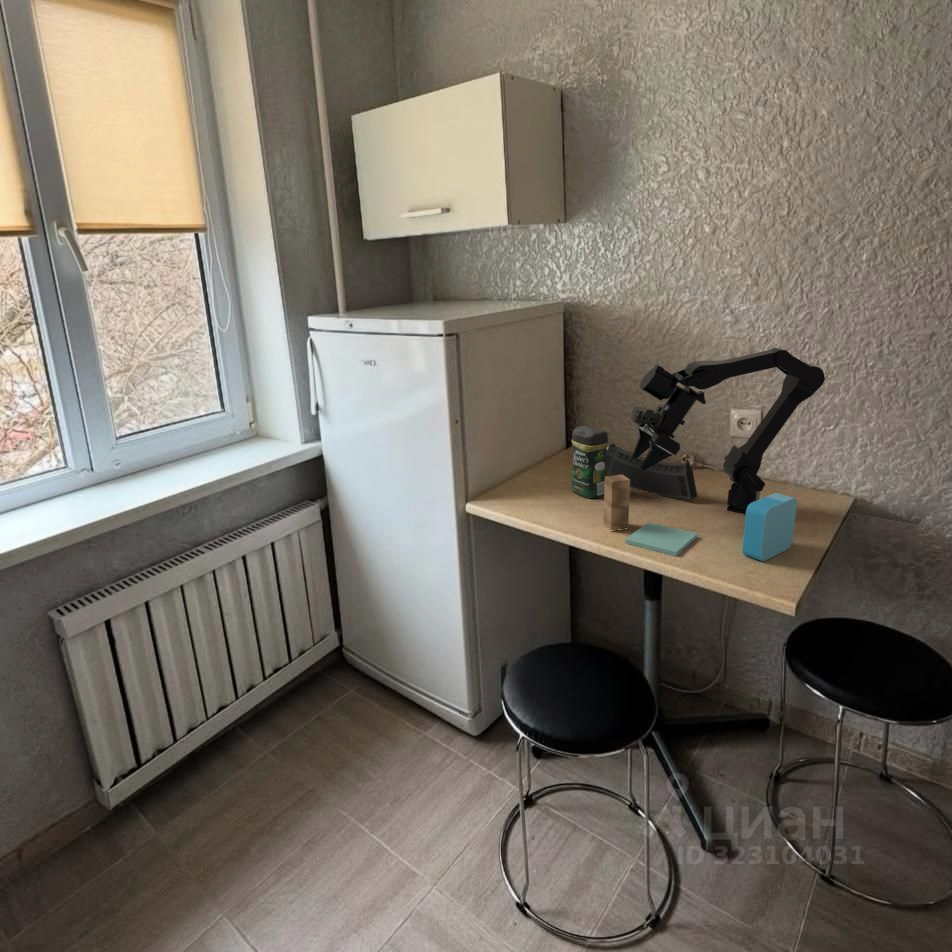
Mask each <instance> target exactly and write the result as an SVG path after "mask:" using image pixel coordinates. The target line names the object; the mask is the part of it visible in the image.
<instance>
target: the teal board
mask: <svg viewBox="0 0 952 952" xmlns="http://www.w3.org/2000/svg"><path fill="white" fill-rule="evenodd" d="M697 538H698V533H697V532H693V531H688V530H684V529H680V528H676V527H672V526H667V525H664V524H663V525H662V524H659V523H654V522H649V521H648V522H646V523H645V524H643V525H642V526H641V527H639V528H638V529H637V530H635V531H634V532H632V534H630V535H628V537H626V538H625V539H624V541H625V542H624V544H626V543H628V544H627V545H630V544H631V546H634V545H635V547H638V546H639V548H641V549H642V548H643V549H645V548H647V549H646V550H649V549H650V550H651V551H653V550H654V552H657V551H659V552H658V553H661V552H662V554H665V555H669V556H672V555H673V556H672V557H677V556H678V555H679V554H681V552H683V551H682V550H683V549H684V548H685V549H686V548H688V546H689V545H690V544H691V543H692V541H693V542H694V541H695V540H696V539H697ZM685 549H684V550H685ZM650 550H649V551H650Z"/></svg>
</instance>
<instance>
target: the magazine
mask: <svg viewBox="0 0 952 952" xmlns="http://www.w3.org/2000/svg"><path fill="white" fill-rule="evenodd" d="M632 455H633V453H632V452H630V451H628V450H625V449H623V448H622V447H619V446H617V445H616V443H613V442H612V443H609V444H608V446H607V450H606V476H615V475H624V476H625V477H627V478H628V479H630V488H631V487H633V488H632V489H634V488H637V489H641V490H644V491H648V492H652V493H655V494H654V495H656V494H659V495H658V496H661V495H663V496H662V497H669V498H679V499H687V500H695V499H697V497H698V492H697V491H698V490H697V487H696V482H695V475H694V472H693V471H694V470H693V469H692V467H691V463H690V462H689V461H685V462H670V461H664V460H662V461H660V462H658V463H656V464H655V465H653V466H651V467H649V468H648V469H646V470H642V469H641V466H642V463H643V461H644V460H645V458H646V456H642V455H640V456H639V457H638V458H636V459H634V458H633V457H632ZM637 489H636V490H637ZM641 490H640V491H641ZM644 491H643V492H644ZM648 492H647V493H648ZM652 493H651V494H652Z"/></svg>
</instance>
